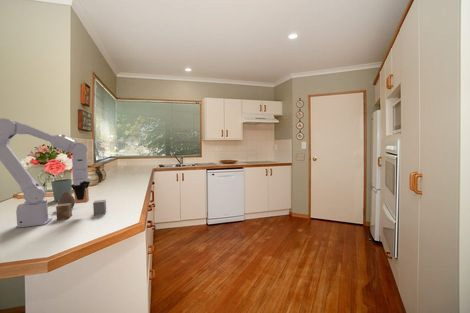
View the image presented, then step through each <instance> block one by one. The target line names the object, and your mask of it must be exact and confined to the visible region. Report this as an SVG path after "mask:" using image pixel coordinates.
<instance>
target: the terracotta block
mask: <svg viewBox="0 0 470 313" xmlns="http://www.w3.org/2000/svg"><path fill="white" fill-rule="evenodd" d="M73 191H74V190H73ZM73 193H74V199H75V204H74V205H76V204H85V203H88V202H89V201H90V199H89V197H90V196H89V195H90V193H89V187H88V188H85V191H84V198H83V200H77V197H76V194H75V191H74V192H73Z"/></svg>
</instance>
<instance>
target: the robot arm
mask: <svg viewBox="0 0 470 313" xmlns="http://www.w3.org/2000/svg"><path fill="white" fill-rule="evenodd" d="M15 135H29V136H33V137H35V138H38V139H41V140H44V141H45V142H49V143H50V145H51V147H53V148H56V149H57V150H58V149H59V150H62V151H64V152H66V153H69V152H71V153H72V160H71V163H72V165H71V166H72V185H71V187H72V189H73V190H72V191H75V194H76V197H77V200H83V198H84V191H85V188H88V189H89V185H90V182H91V181H90V180H92V177H89V172H88V170H89V169H88V155H87V153H88V148H87V145H85V143H81V142H78V140H77V139H75V140H74V139H71V138H69V137H67V136H66V135H65V134H56V135H52V134H50V133H49V132H46V131H43V130H41V129H38V128H36V127H34V126H31V125H29V124H26V123H22V122H20V121H15V120H14V121H13V120H11V119H9V118H5V117H4V118H3V117H0V162H1V163H2V165H3V166H4V167H5V169H6V170H7V171H8V173H9V174H10V175H11V176H12V177H13V179H14V180H15V182H16V183H17V184H18V186H19V187H20V190H21V192H22V193H23V199H24V203H19V204H18V205H17V206H16V211H15V213H16V228H19V229H20V228H25V227H34V226H35V227H36V226H41V225H46V224H48V223H49V222H50V221H51V220H53V217H49V210H48V209H49V208H48V199H46V198H45V195H46V193H47V189H46V188H45V186H42V185H40V184H39V183H38V182H37V180H35V178H33V176H32V175H31V174H30V173H29V171H28V169H27V168H25V166H24V165H23V163H22V162H21V160H20V159H19V158H18V157H17V155H16V154H15V152H14V151H13V150H12V149H11V146H9V144H10V142H11V140H12V138H14V136H15Z"/></svg>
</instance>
